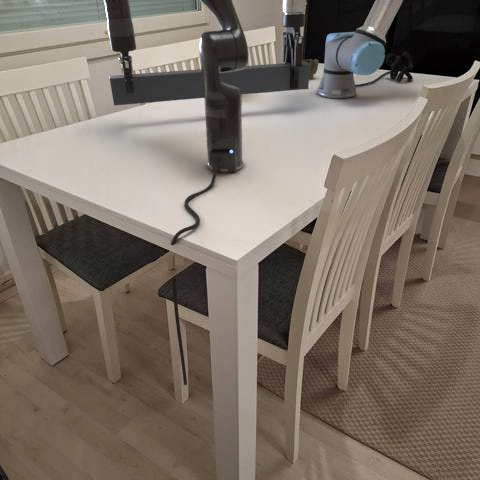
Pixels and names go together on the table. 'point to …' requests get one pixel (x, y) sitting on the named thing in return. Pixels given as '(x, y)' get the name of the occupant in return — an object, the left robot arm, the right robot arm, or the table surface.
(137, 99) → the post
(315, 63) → the cup
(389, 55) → the squiggle
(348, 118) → the table surface
